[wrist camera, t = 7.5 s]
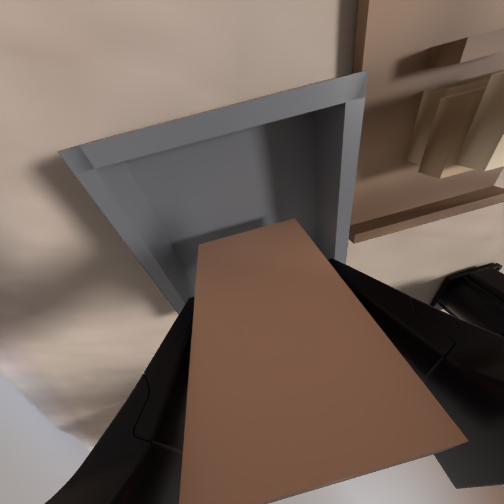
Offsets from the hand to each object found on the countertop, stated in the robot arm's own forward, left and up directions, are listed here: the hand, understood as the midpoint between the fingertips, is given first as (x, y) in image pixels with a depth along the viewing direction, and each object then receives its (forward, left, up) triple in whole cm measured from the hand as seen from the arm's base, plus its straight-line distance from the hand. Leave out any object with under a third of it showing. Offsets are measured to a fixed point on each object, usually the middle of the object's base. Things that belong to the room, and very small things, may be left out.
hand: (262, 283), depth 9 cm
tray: (0, 0, -6) cm, 6 cm away
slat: (0, 0, -4) cm, 4 cm away
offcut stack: (+4, -13, -6) cm, 15 cm away
